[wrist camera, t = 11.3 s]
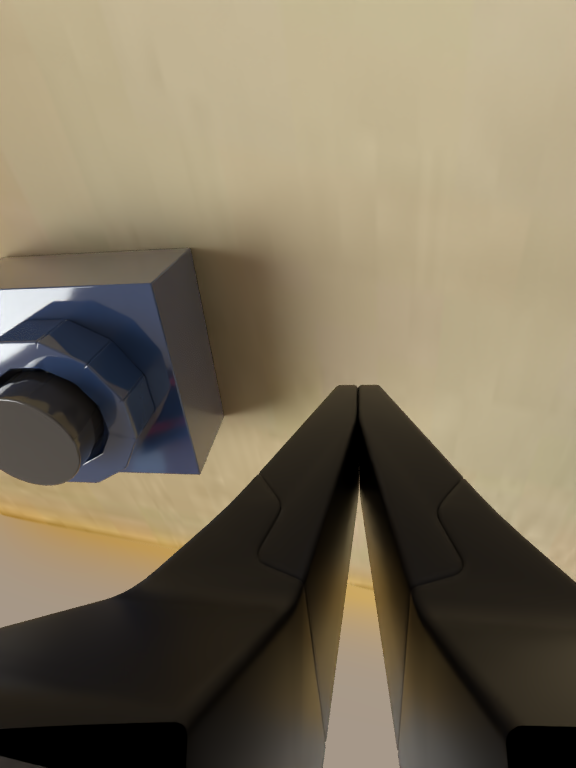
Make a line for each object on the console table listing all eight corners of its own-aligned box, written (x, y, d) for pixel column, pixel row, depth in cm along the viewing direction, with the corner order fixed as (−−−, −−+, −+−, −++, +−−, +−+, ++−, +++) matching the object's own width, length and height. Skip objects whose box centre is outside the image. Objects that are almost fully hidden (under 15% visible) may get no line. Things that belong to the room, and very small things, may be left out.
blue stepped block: (224, 416, 26) (187, 507, 20) (71, 415, 28) (-5, 499, 22) (190, 247, 21) (127, 304, 15) (3, 256, 22) (-121, 312, 16)
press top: (117, 454, 20) (94, 487, 18) (28, 452, 20) (-2, 484, 19) (85, 369, 17) (55, 398, 16) (-14, 370, 18) (-53, 398, 16)
